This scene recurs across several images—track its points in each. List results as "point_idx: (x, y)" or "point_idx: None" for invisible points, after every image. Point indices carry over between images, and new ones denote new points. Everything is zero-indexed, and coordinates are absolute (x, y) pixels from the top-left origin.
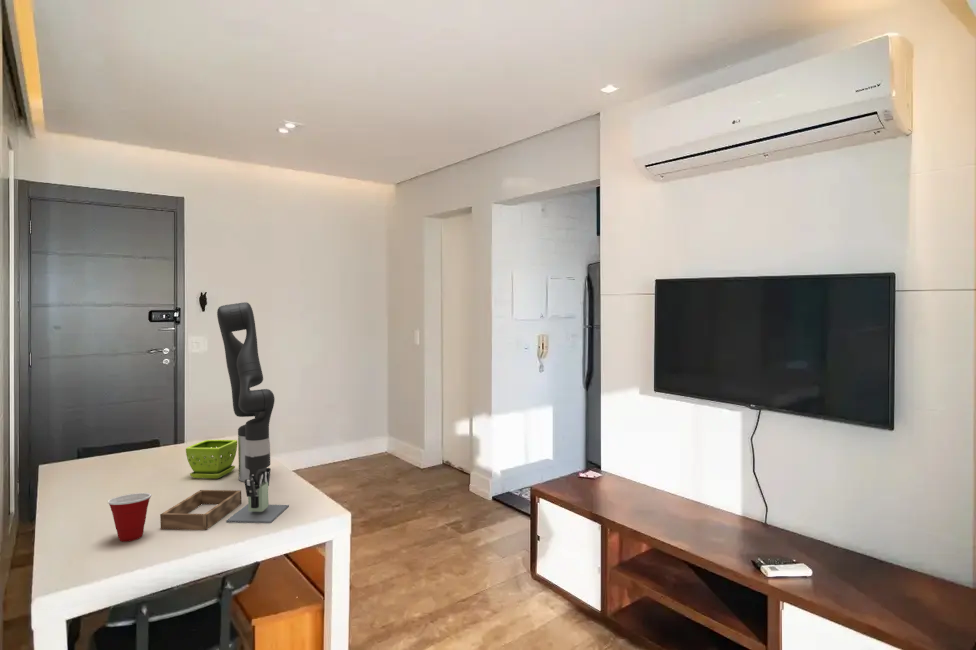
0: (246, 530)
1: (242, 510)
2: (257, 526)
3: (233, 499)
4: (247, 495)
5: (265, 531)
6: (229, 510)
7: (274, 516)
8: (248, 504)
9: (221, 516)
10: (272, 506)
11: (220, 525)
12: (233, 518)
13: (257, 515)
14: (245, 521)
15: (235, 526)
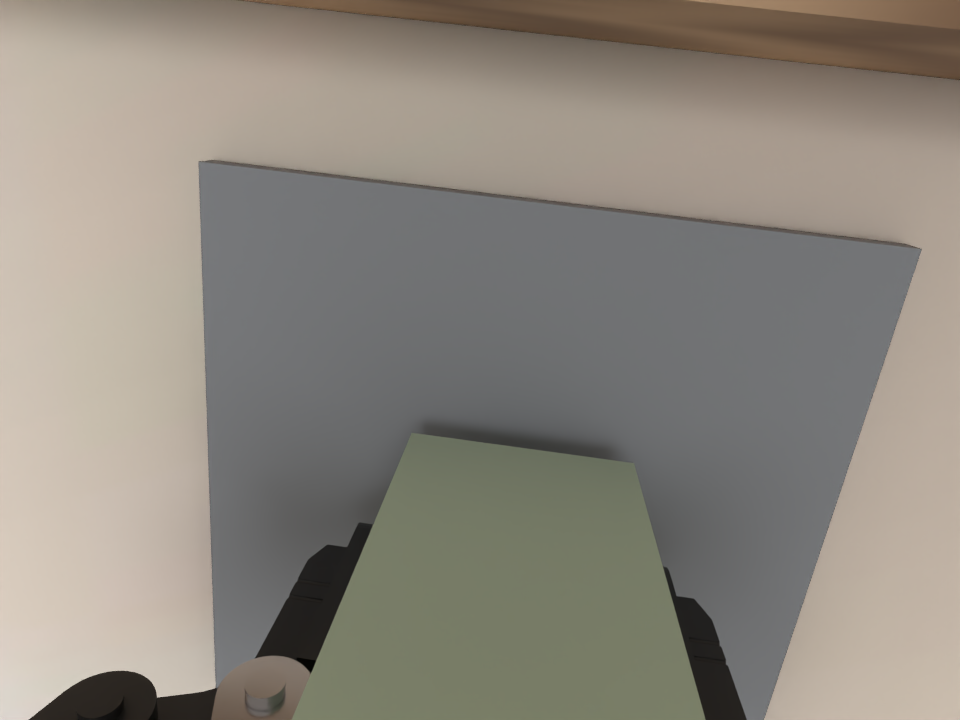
0: (5, 500)
1: (611, 267)
2: (127, 580)
3: (849, 36)
4: (59, 712)
5: (16, 678)
6: (626, 38)
7: None
8: (389, 491)
9: (346, 6)
10: (718, 627)
11: (101, 115)
12: (279, 244)
13: None
14: (213, 430)
15: (95, 340)
